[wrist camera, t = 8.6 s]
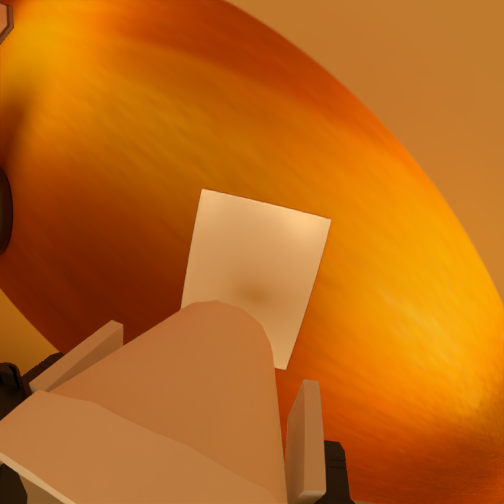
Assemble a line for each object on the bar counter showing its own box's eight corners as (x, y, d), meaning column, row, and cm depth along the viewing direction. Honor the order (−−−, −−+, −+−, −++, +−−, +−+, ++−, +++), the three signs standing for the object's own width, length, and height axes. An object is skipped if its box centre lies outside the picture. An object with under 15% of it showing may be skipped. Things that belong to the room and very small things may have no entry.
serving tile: (181, 333, 31) (176, 339, 30) (206, 189, 28) (202, 188, 26) (285, 362, 30) (285, 369, 29) (329, 218, 27) (331, 219, 25)
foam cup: (324, 303, 15) (371, 568, 2) (272, 424, 17) (240, 604, 4) (153, 251, 15) (-67, 364, 3) (138, 378, 17) (28, 515, 5)
